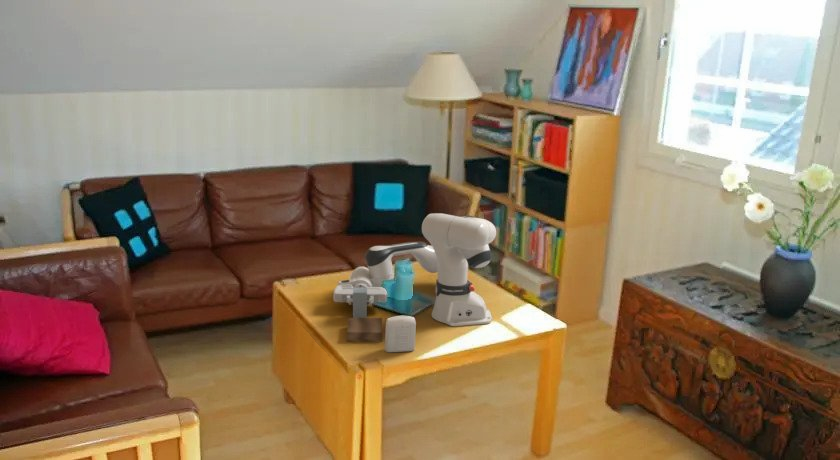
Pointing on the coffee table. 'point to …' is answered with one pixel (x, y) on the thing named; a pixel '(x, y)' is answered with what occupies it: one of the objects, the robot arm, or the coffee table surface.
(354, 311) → the grey pillar
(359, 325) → the walnut block
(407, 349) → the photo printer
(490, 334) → the coffee table surface
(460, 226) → the robot arm
